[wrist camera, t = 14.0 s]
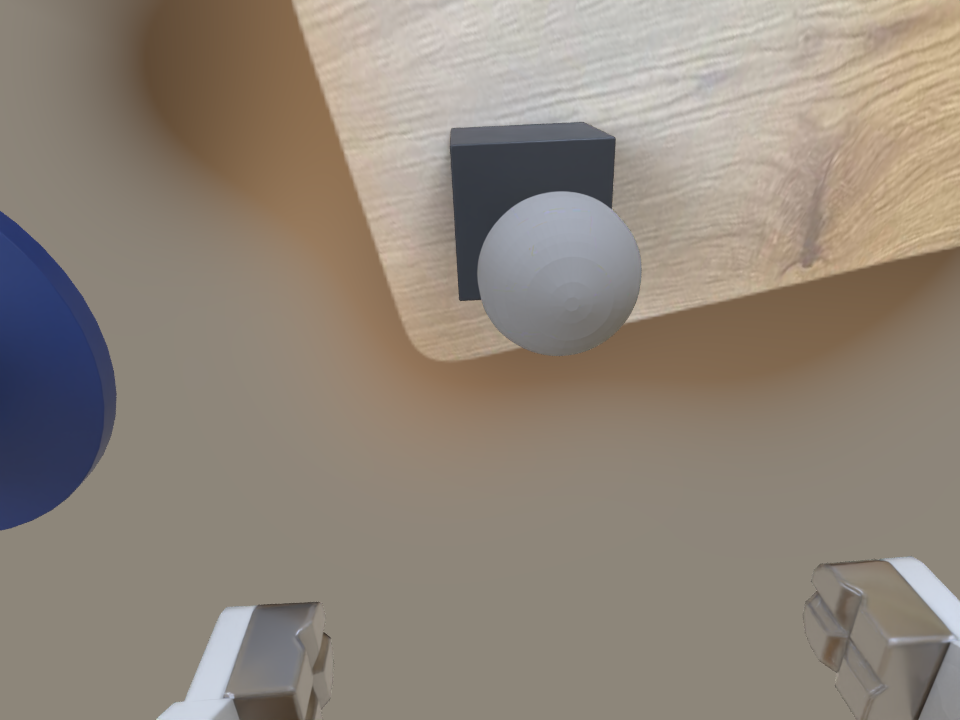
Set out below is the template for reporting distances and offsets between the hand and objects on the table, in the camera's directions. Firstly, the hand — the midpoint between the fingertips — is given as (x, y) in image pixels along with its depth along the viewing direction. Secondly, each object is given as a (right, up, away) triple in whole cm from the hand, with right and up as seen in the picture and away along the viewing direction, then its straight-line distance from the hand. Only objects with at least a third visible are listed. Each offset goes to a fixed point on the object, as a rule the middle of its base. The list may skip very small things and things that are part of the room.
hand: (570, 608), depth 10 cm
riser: (+1, +13, +23) cm, 27 cm away
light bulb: (+1, +10, +17) cm, 20 cm away
